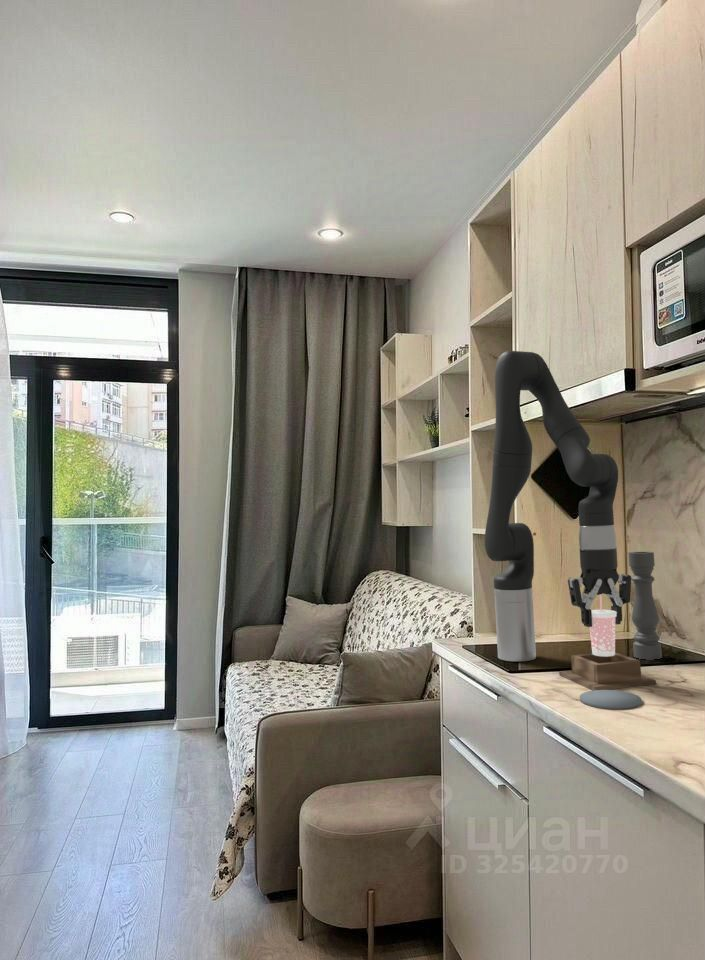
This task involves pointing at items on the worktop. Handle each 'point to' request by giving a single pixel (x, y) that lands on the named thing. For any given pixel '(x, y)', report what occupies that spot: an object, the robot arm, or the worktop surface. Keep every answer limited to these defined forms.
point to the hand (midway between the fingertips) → (602, 624)
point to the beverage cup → (603, 631)
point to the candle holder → (644, 607)
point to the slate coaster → (610, 699)
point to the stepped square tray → (606, 672)
